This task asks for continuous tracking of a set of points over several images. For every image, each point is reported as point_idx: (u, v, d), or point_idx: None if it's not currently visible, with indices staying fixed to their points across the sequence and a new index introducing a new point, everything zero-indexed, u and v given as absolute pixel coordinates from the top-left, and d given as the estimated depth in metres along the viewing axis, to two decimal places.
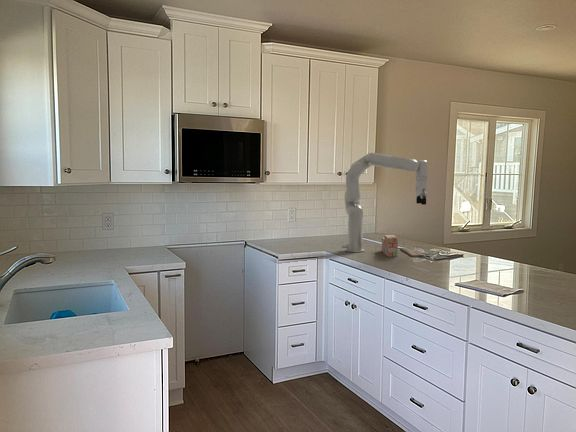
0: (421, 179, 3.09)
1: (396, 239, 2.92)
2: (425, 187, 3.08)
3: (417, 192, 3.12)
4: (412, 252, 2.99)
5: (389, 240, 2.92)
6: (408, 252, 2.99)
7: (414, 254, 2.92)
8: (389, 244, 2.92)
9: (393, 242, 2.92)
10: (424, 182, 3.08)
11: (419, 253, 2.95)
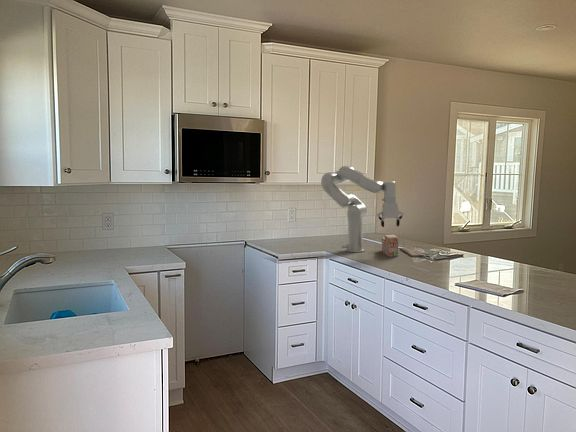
0: (395, 201, 2.98)
1: (397, 239, 2.92)
2: None
3: (392, 214, 2.98)
4: (412, 252, 2.99)
5: (390, 240, 2.92)
6: (408, 252, 2.99)
7: (414, 254, 2.92)
8: (390, 244, 2.92)
9: (393, 242, 2.92)
10: None
11: (419, 253, 2.95)
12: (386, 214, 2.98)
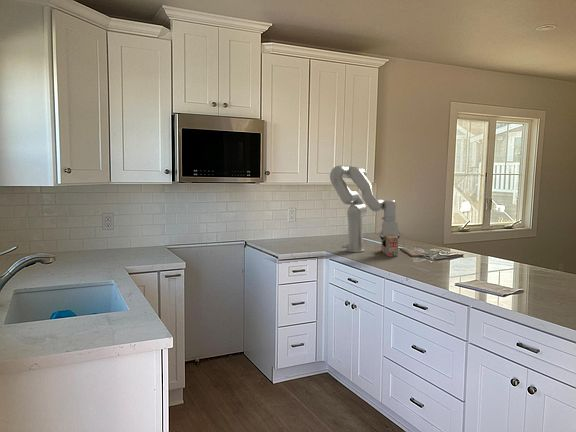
0: (395, 219, 3.00)
1: (397, 239, 2.92)
2: None
3: (391, 233, 2.99)
4: (412, 252, 2.99)
5: (390, 240, 2.92)
6: (408, 252, 2.99)
7: (414, 254, 2.92)
8: (390, 244, 2.93)
9: (393, 242, 2.93)
10: None
11: (419, 253, 2.95)
12: (386, 233, 2.99)
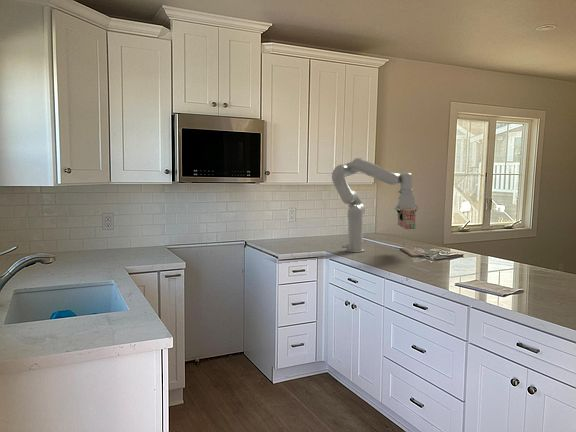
0: None
1: (414, 211, 2.91)
2: None
3: (408, 206, 2.98)
4: (412, 252, 2.99)
5: (407, 212, 2.91)
6: (408, 252, 2.99)
7: (414, 254, 2.92)
8: (407, 216, 2.91)
9: (410, 214, 2.91)
10: None
11: (419, 253, 2.95)
12: (402, 206, 2.98)
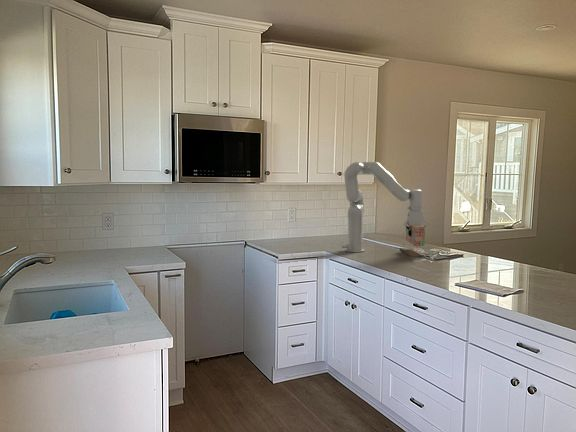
0: (421, 209, 3.00)
1: (423, 228, 2.92)
2: None
3: (417, 223, 2.99)
4: (412, 252, 2.99)
5: (416, 229, 2.92)
6: (408, 252, 2.99)
7: (414, 254, 2.92)
8: (416, 233, 2.93)
9: (420, 231, 2.93)
10: None
11: (419, 253, 2.95)
12: (412, 222, 2.99)
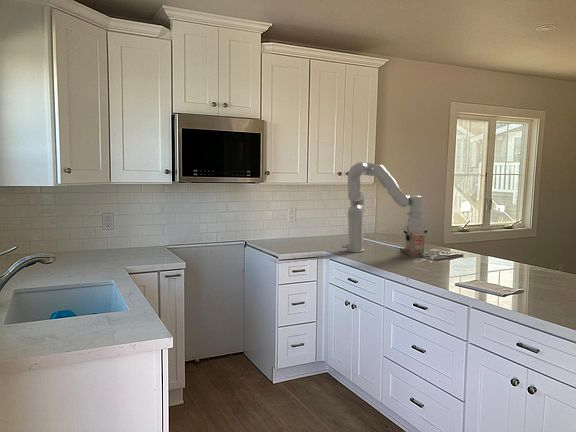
0: (421, 215, 3.00)
1: (423, 236, 2.93)
2: None
3: (417, 229, 2.99)
4: None
5: (416, 237, 2.93)
6: (408, 252, 2.99)
7: (414, 254, 2.92)
8: (416, 241, 2.93)
9: (419, 239, 2.93)
10: None
11: None
12: (411, 228, 2.99)
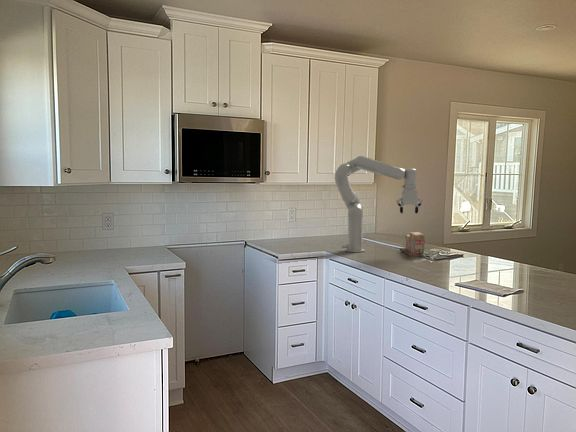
0: (415, 188, 3.04)
1: (423, 236, 2.93)
2: None
3: (411, 201, 3.03)
4: (412, 252, 2.99)
5: (416, 237, 2.93)
6: (408, 252, 2.99)
7: (414, 254, 2.92)
8: (416, 241, 2.93)
9: (420, 239, 2.93)
10: None
11: None
12: (405, 201, 3.03)
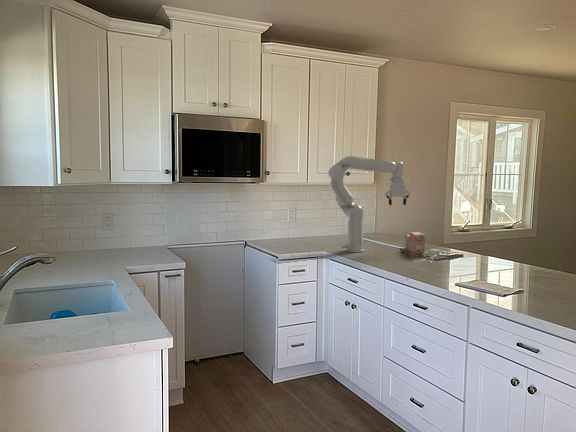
0: None
1: (423, 236, 2.93)
2: None
3: (399, 193, 3.15)
4: (412, 252, 2.99)
5: (416, 237, 2.93)
6: (408, 252, 2.99)
7: (414, 254, 2.92)
8: (416, 241, 2.93)
9: (420, 239, 2.93)
10: None
11: None
12: (394, 193, 3.15)
